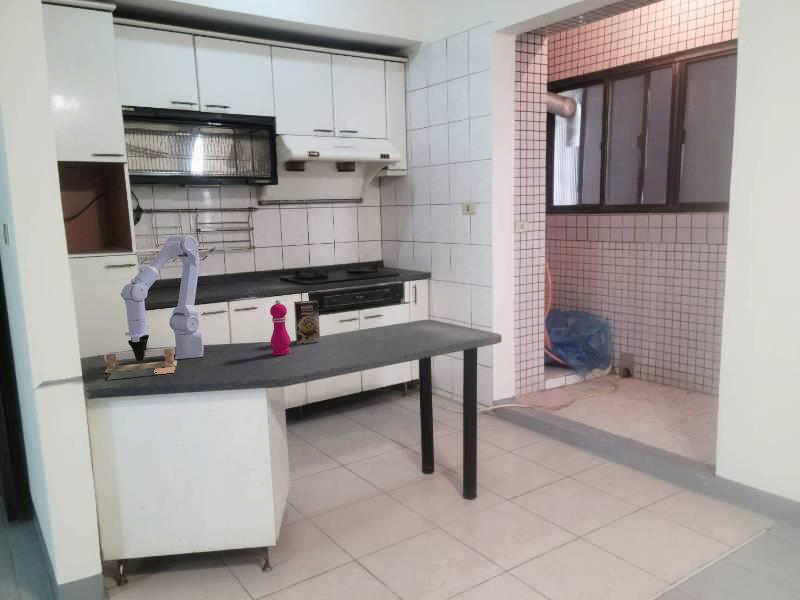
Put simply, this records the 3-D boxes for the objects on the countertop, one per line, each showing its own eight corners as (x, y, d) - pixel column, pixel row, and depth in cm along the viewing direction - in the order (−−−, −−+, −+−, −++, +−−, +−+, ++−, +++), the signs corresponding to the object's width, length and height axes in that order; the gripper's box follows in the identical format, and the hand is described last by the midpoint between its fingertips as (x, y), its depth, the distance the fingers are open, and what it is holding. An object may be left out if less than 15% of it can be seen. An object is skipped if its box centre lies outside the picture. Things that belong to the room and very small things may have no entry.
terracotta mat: (175, 367, 199) (175, 366, 199) (173, 373, 192) (173, 372, 192) (111, 374, 194) (110, 372, 194) (106, 380, 186) (106, 379, 186)
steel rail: (175, 353, 204) (174, 346, 203) (175, 354, 201) (174, 348, 201) (105, 359, 197) (105, 353, 197) (104, 361, 195) (103, 354, 195)
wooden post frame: (176, 362, 206) (175, 346, 205) (175, 367, 200) (174, 350, 199) (108, 369, 200) (106, 352, 199) (104, 374, 194) (102, 356, 193)
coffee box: (297, 344, 228) (294, 303, 226) (295, 341, 235) (293, 301, 232) (320, 342, 231) (318, 301, 228) (318, 339, 237) (316, 299, 234)
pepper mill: (267, 355, 213) (263, 300, 210) (279, 350, 219) (276, 297, 216) (282, 356, 209) (279, 301, 206) (295, 352, 216) (292, 298, 213)
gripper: (127, 316, 203) (131, 354, 205) (120, 323, 189) (124, 364, 192) (149, 315, 205) (152, 352, 207) (143, 322, 191) (148, 362, 193)
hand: (140, 358), depth 200 cm, fingers open, 4 cm apart
